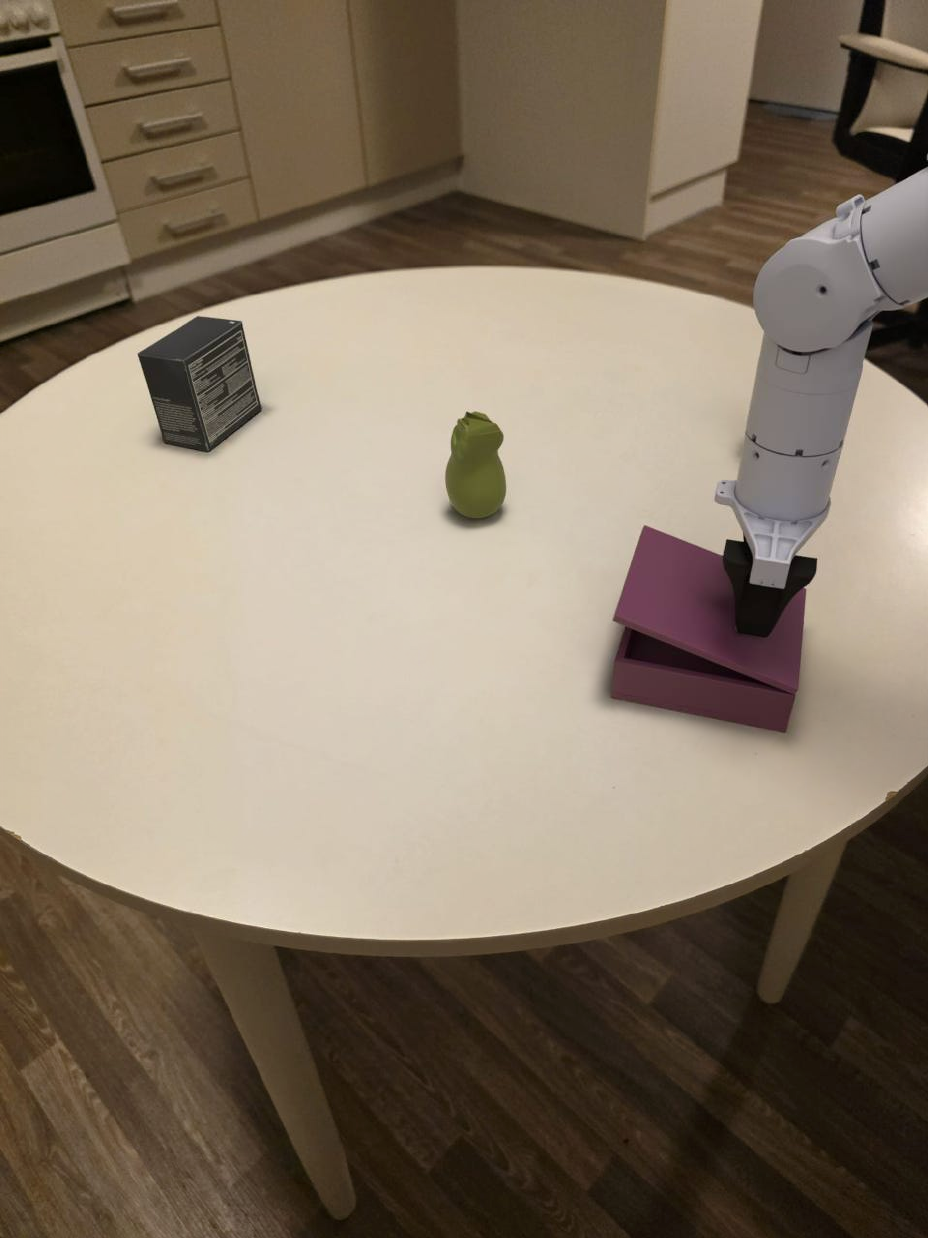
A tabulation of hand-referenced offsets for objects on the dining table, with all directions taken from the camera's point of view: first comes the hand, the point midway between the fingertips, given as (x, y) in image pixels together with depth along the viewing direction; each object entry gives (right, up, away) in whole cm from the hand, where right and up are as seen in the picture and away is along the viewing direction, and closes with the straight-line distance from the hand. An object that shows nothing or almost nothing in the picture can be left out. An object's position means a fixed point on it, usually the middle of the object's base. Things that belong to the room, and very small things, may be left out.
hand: (756, 606), depth 63 cm
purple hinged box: (-2, -4, +5) cm, 7 cm away
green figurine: (-19, +9, +22) cm, 30 cm away
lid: (-3, 0, +1) cm, 3 cm away
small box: (-49, +21, +37) cm, 65 cm away
